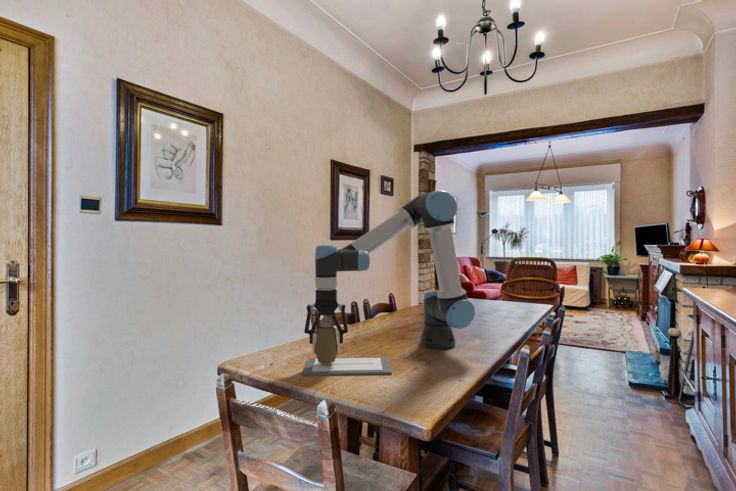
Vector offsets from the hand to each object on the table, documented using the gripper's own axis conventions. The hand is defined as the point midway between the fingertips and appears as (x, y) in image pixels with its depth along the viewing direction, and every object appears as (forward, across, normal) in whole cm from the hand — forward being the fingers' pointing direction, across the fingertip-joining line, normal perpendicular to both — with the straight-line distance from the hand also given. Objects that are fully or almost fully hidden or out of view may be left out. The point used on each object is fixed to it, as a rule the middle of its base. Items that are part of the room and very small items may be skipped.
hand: (326, 352), depth 137 cm
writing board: (+5, -8, 0) cm, 9 cm away
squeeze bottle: (+3, 0, 0) cm, 3 cm away
